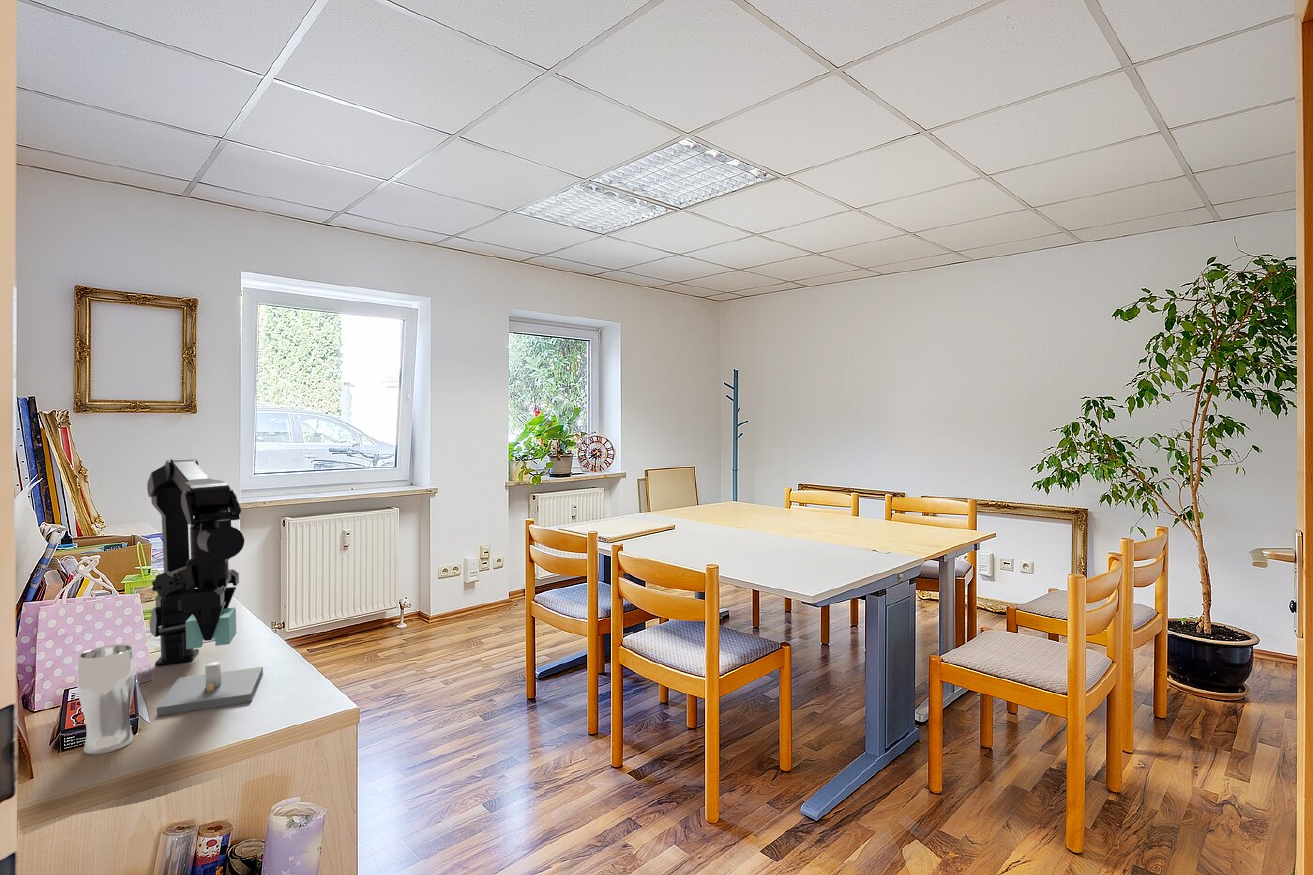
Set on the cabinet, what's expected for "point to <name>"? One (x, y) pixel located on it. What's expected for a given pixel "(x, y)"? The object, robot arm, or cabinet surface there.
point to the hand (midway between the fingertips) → (212, 634)
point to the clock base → (211, 690)
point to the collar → (222, 632)
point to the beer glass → (106, 696)
